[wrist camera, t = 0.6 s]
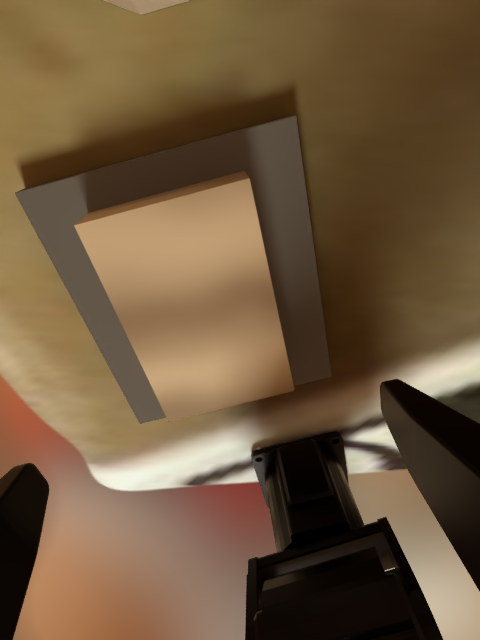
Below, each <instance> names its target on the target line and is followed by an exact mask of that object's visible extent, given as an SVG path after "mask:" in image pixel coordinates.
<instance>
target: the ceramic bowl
mask: <svg viewBox="0 0 480 640" xmlns="http://www.w3.org/2000/svg"><path fill="white" fill-rule="evenodd" d="M103 1H106V2H109V3H111V4H114V5H116V6H119V7H122V8H124V9H127V10H129V11H132V12H135V13H137V14H140V15H142V14H146V13H149V12H152V11H156V10H159V9H163V8H166V7H170V6H173V5H176V4H180V3H183V2H187V1H190V0H103Z"/></svg>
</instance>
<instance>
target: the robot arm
mask: <svg viewBox="0 0 480 640" xmlns="http://www.w3.org/2000/svg"><path fill="white" fill-rule="evenodd" d="M380 398H381V410H382V414H383V416H384V419H385V421H386V423H387V425H388V427H389V430H390V432H391V434H392V436H393V438H394V441H395V443H396V445H397V447H398V449H399V452H400V454H401V456H402V458H403V460H404V463H405V465H406V467H407V469H408V471H409V473H410V475H411V476H412V478H413V480H414V482H415V484H416V485H417V487H418V489H419V490H420V492H421V494H422V495H423V497H424V499H425V500H426V502H427V504H428V505H429V507H430V509H431V510H432V512H433V514H434V515H435V517H436V519H437V521H438V522H439V524H440V526H441V527H442V529H443V530H444V532H445V534H446V536H447V537H448V539H449V541H450V542H451V544H452V546H453V547H454V549H455V551H456V552H457V554H458V556H459V557H460V559H461V561H462V563H463V564H464V566H465V567H466V569H467V571H468V573H469V574H470V576H471V578H472V579H473V581H474V583H475V584H476V586H477V588H478V589H479V591H480V423H478V422H476V421H474V420H473V419H471V418H469V417H467V416H465V415H463V414H461V413H460V412H458V411H456V410H454V409H452V408H450V407H449V406H447V405H445V404H443V403H441V402H439V401H438V400H436V399H434V398H432V397H430V396H428V395H426V394H425V393H423V392H421V391H419V390H417V389H415V388H414V387H412V386H410V385H408V384H406V383H404V382H402V381H401V380H398V379H394V380H389V381H385V382H382V383H381V385H380ZM251 457H252V462H253V465H254V468H255V471H256V474H257V477H258V480H259V483H260V486H261V489H262V492H263V495H264V498H265V500H266V504H267V506H268V507H269V508H270V514H271V520H272V526H273V531H274V537H275V543H276V549H277V553H273V554H270V555H267V556H264V557H261V558H258V557H255V558H252V559H249V561H248V574H247V592H246V634H245V640H443V638H442V636H441V634H440V631H439V629H438V626H437V624H436V622H435V619H434V617H433V615H432V612H431V610H430V608H429V606H428V603H427V601H426V599H425V597H424V594H423V592H422V590H421V588H420V586H419V584H418V582H417V579H416V577H415V575H414V573H413V571H412V569H411V567H410V565H409V563H408V561H407V559H406V557H405V555H404V553H403V551H402V549H401V547H400V545H399V543H398V540H397V538H396V536H395V534H394V532H393V530H392V528H391V526H390V524H389V522H388V520H387V518H386V517H383V518H380V519H378V521H377V522H373V523H370V524H367V525H364V523H363V520H362V518H361V515H360V513H359V510H358V508H357V505H356V503H355V500H354V498H353V495H352V492H351V490H350V487H349V484H348V476H347V469H346V461H345V453H344V446H343V439H342V437H341V435H340V433H338V432H332V433H328V434H324V435H320V436H315V437H311V438H307V439H303V440H299V441H294V442H290V443H286V444H282V445H278V446H273V447H269V448H265V449H261V450H257V451H254V452H253V453H252V455H251ZM48 495H49V485H48V482H47V481H46V479H45V478H44V477H43V475H42V474H41V473H40V471H39V470H38V469H37V467H36V466H35V465H34V464H32V463H27V464H22V465H18V466H15V467H14V468H12V469H11V470H10V471H9V472H8V473H6V475H4V476H3V477H2V478H1V479H0V640H13V637H14V633H15V630H16V626H17V623H18V619H19V616H20V612H21V608H22V605H23V602H24V598H25V595H26V591H27V588H28V584H29V581H30V577H31V574H32V571H33V567H34V564H35V560H36V556H37V552H38V547H39V542H40V537H41V532H42V527H43V521H44V516H45V510H46V505H47V500H48ZM393 567H395V569H392V570H389V571H386V572H385V571H384V570H387V569H390V568H393Z"/></svg>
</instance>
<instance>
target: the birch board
mask: <svg viewBox="0 0 480 640" xmlns="http://www.w3.org/2000/svg"><path fill="white" fill-rule="evenodd" d="M74 227H75V229H76V231H77V233H78V235H79V237H80V239H81V241H82V243H83V245H84V247H85V249H86V251H87V254H88V256H89V258H90V260H91V262H92V264H93V266H94V268H95V270H96V272H97V274H98V276H99V278H100V281H101V283H102V285H103V287H104V289H105V291H106V293H107V295H108V297H109V299H110V301H111V303H112V305H113V308H114V310H115V312H116V314H117V316H118V318H119V320H120V322H121V324H122V326H123V328H124V330H125V332H126V335H127V337H128V339H129V341H130V343H131V345H132V347H133V349H134V351H135V353H136V355H137V357H138V359H139V361H140V364H141V366H142V368H143V370H144V372H145V374H146V376H147V378H148V380H149V382H150V384H151V386H152V388H153V391H154V393H155V395H156V397H157V399H158V401H159V403H160V405H161V407H162V409H163V411H164V413H165V415H166V418H167V420H168V422H169V421H173V420H177V419H181V418H185V417H189V416H193V415H197V414H202V413H206V412H210V411H214V410H218V409H222V408H226V407H230V406H234V405H238V404H243V403H247V402H251V401H255V400H259V399H263V398H267V397H271V396H275V395H279V394H283V393H288V392H292V391H295V390H294V385H293V381H292V376H291V371H290V366H289V362H288V357H287V352H286V348H285V343H284V338H283V333H282V329H281V324H280V319H279V314H278V310H277V305H276V300H275V296H274V291H273V286H272V281H271V277H270V272H269V267H268V262H267V258H266V253H265V248H264V243H263V239H262V234H261V229H260V225H259V220H258V215H257V210H256V206H255V201H254V196H253V191H252V187H251V182H250V178H249V176H248V175H247V174H246V172H245V171H241V172H237V173H234V174H230V175H226V176H223V177H219V178H215V179H212V180H208V181H204V182H201V183H197V184H193V185H189V186H186V187H182V188H178V189H175V190H171V191H167V192H164V193H160V194H156V195H152V196H149V197H145V198H141V199H138V200H134V201H130V202H127V203H123V204H119V205H115V206H112V207H108V208H104V209H101V210H97V211H93V212H90V213H87V214H86V215H85V216H84V217H83V218H82V219H81V220H80V221H78V222H77V223H76V224H75V225H74Z"/></svg>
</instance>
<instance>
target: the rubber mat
mask: <svg viewBox="0 0 480 640" xmlns="http://www.w3.org/2000/svg"><path fill="white" fill-rule="evenodd" d="M241 171H245V172H246V174H247V175H248V176H249V178H250V182H251V187H252V191H253V196H254V201H255V206H256V210H257V215H258V220H259V225H260V229H261V234H262V239H263V243H264V248H265V253H266V258H267V262H268V267H269V272H270V277H271V281H272V286H273V291H274V296H275V300H276V305H277V310H278V314H279V319H280V324H281V329H282V333H283V338H284V343H285V348H286V352H287V357H288V362H289V366H290V371H291V376H292V381H293V385H294V386H297V385H301V384H305V383H309V382H313V381H317V380H321V379H325V378H329V377H332V375H331V368H330V360H329V353H328V346H327V338H326V331H325V324H324V316H323V309H322V302H321V294H320V287H319V280H318V272H317V265H316V258H315V250H314V243H313V236H312V229H311V221H310V214H309V207H308V199H307V192H306V185H305V177H304V170H303V163H302V155H301V148H300V141H299V133H298V126H297V119H296V116H293V115H290V116H287V117H283V118H279V119H276V120H272V121H269V122H265V123H261V124H258V125H254V126H250V127H247V128H243V129H240V130H236V131H232V132H229V133H225V134H221V135H218V136H214V137H210V138H207V139H203V140H200V141H196V142H192V143H189V144H185V145H181V146H178V147H174V148H170V149H167V150H163V151H160V152H156V153H152V154H149V155H145V156H141V157H138V158H134V159H130V160H127V161H123V162H120V163H116V164H112V165H109V166H105V167H101V168H98V169H94V170H90V171H87V172H83V173H80V174H76V175H72V176H69V177H65V178H61V179H58V180H54V181H51V182H47V183H43V184H40V185H36V186H32V187H29V188H25V189H23V190H20V191H18V192H16V193H15V194H16V196H17V198H18V200H19V202H20V204H21V205H22V207H23V209H24V211H25V213H26V215H27V216H28V218H29V220H30V222H31V224H32V226H33V227H34V229H35V231H36V233H37V235H38V237H39V239H40V240H41V242H42V244H43V246H44V248H45V250H46V251H47V253H48V255H49V257H50V259H51V261H52V263H53V264H54V266H55V268H56V270H57V272H58V274H59V275H60V277H61V279H62V281H63V283H64V285H65V287H66V288H67V290H68V292H69V294H70V296H71V298H72V299H73V301H74V303H75V305H76V307H77V309H78V310H79V312H80V314H81V316H82V318H83V320H84V322H85V323H86V325H87V327H88V329H89V331H90V333H91V334H92V336H93V338H94V340H95V342H96V344H97V346H98V347H99V349H100V351H101V353H102V355H103V357H104V358H105V360H106V362H107V364H108V366H109V368H110V370H111V371H112V373H113V375H114V377H115V379H116V381H117V382H118V384H119V386H120V388H121V390H122V392H123V393H124V395H125V397H126V399H127V401H128V403H129V405H130V406H131V408H132V410H133V412H134V414H135V416H136V417H137V419H138V421H139V423H140V424H141V423H145V422H149V421H153V420H158V419H162V418H166V415H165V413H164V411H163V409H162V407H161V405H160V403H159V401H158V399H157V397H156V395H155V393H154V391H153V388H152V386H151V384H150V382H149V380H148V378H147V376H146V374H145V372H144V370H143V368H142V366H141V364H140V361H139V359H138V357H137V355H136V353H135V351H134V349H133V347H132V345H131V343H130V341H129V339H128V337H127V335H126V332H125V330H124V328H123V326H122V324H121V322H120V320H119V318H118V316H117V314H116V312H115V310H114V308H113V305H112V303H111V301H110V299H109V297H108V295H107V293H106V291H105V289H104V287H103V285H102V283H101V281H100V278H99V276H98V274H97V272H96V270H95V268H94V266H93V264H92V262H91V260H90V258H89V256H88V254H87V251H86V249H85V247H84V245H83V243H82V241H81V239H80V237H79V235H78V233H77V231H76V229H75V227H74V225H75V224H76V223H77V222H78V221H80V220H81V219H82V218H83V217H84V216H85V215H86V214H87V213H90V212H93V211H97V210H101V209H104V208H108V207H112V206H115V205H119V204H123V203H127V202H130V201H134V200H138V199H141V198H145V197H149V196H152V195H156V194H160V193H164V192H167V191H171V190H175V189H178V188H182V187H186V186H189V185H193V184H197V183H201V182H204V181H208V180H212V179H215V178H219V177H223V176H226V175H230V174H234V173H237V172H241Z"/></svg>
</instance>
